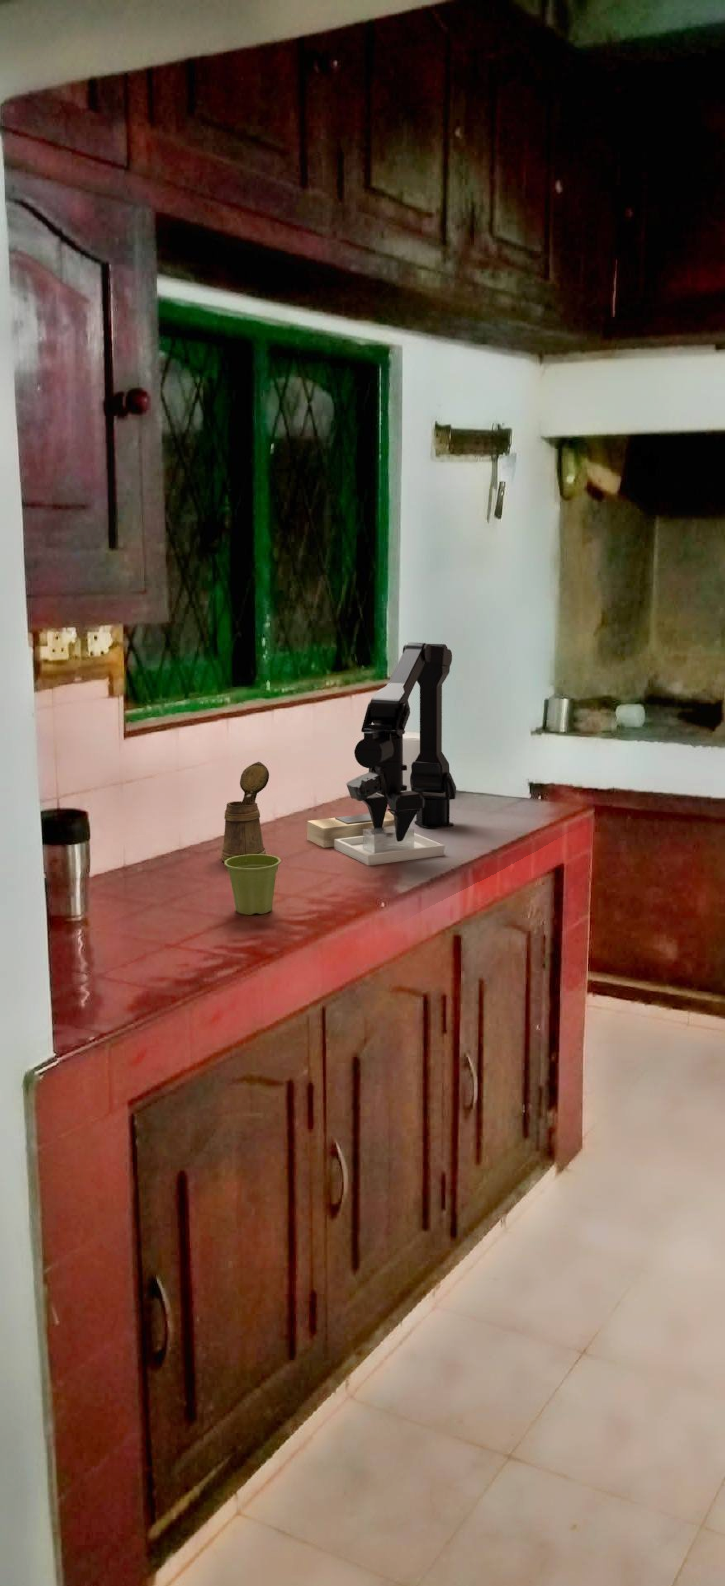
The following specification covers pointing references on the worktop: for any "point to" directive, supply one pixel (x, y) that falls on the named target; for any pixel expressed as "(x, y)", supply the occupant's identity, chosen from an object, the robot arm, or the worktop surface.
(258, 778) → the wooden mug
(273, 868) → the plant pot
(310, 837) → the light wood plank
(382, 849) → the light grey block
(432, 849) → the parts tray
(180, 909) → the worktop surface
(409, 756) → the supplement box
